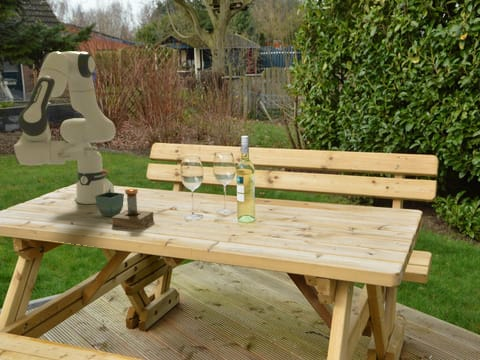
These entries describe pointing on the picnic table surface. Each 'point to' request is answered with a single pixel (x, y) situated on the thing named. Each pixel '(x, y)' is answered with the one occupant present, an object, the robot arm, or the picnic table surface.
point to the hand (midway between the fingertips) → (97, 151)
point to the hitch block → (132, 220)
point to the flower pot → (110, 203)
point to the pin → (132, 201)
